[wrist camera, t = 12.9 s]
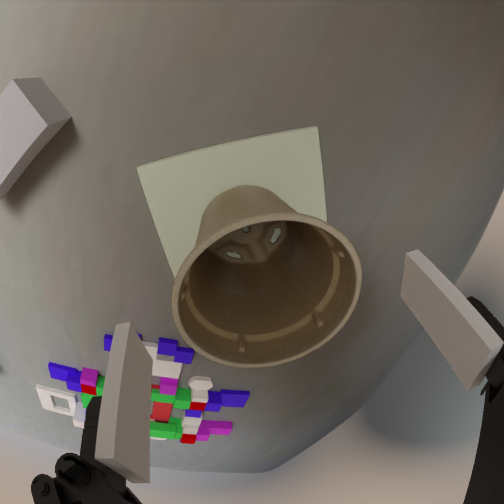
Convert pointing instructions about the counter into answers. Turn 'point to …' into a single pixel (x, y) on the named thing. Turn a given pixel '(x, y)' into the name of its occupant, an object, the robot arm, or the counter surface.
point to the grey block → (26, 126)
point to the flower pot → (263, 282)
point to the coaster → (231, 183)
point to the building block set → (153, 394)
